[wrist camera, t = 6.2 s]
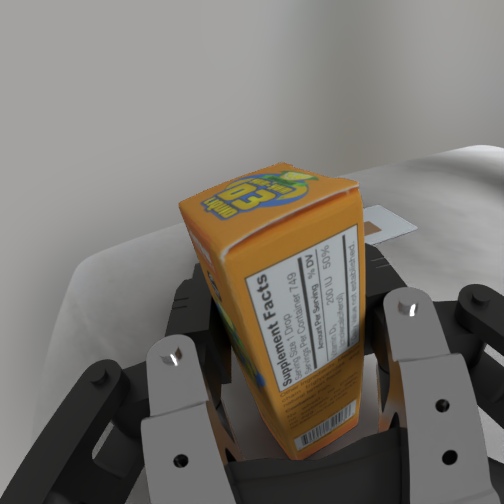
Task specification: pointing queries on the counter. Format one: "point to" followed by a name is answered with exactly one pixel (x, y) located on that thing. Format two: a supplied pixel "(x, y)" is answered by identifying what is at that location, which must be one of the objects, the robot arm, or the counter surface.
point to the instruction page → (383, 224)
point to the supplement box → (289, 295)
